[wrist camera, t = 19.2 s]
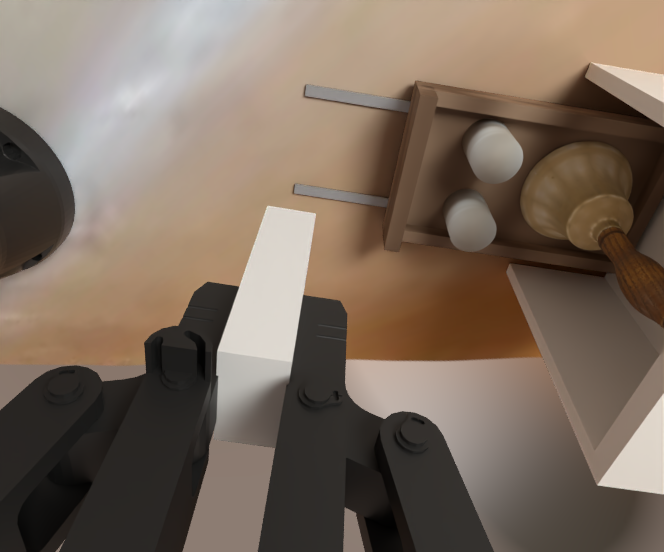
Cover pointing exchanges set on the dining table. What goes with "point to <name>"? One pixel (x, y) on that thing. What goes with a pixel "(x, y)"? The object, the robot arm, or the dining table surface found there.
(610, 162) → the hand bell
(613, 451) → the white upright box
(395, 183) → the tray
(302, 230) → the robot arm
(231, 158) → the dining table surface
